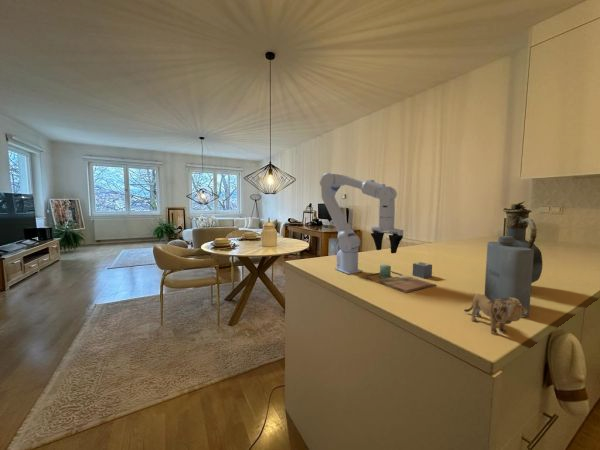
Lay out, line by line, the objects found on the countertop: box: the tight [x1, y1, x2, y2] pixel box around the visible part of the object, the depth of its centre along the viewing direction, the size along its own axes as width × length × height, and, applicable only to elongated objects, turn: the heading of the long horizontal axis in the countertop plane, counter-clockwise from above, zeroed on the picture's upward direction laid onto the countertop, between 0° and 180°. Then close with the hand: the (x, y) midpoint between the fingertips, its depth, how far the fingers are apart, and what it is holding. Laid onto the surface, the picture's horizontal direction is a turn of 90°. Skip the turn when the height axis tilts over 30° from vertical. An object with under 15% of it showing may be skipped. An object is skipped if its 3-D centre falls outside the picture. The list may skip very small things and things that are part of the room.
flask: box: [483, 235, 534, 318], centre depth 70 cm, size 15×6×20 cm, turn 169°
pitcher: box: [502, 200, 543, 284], centre depth 83 cm, size 11×19×30 cm, turn 160°
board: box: [361, 270, 437, 294], centre depth 94 cm, size 21×16×1 cm
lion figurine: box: [463, 293, 528, 336], centre depth 59 cm, size 15×5×9 cm, turn 8°
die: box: [412, 261, 433, 279], centre depth 100 cm, size 5×5×5 cm
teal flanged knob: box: [378, 264, 392, 279], centre depth 99 cm, size 5×5×4 cm
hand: (385, 251), depth 98 cm, fingers open, 7 cm apart
